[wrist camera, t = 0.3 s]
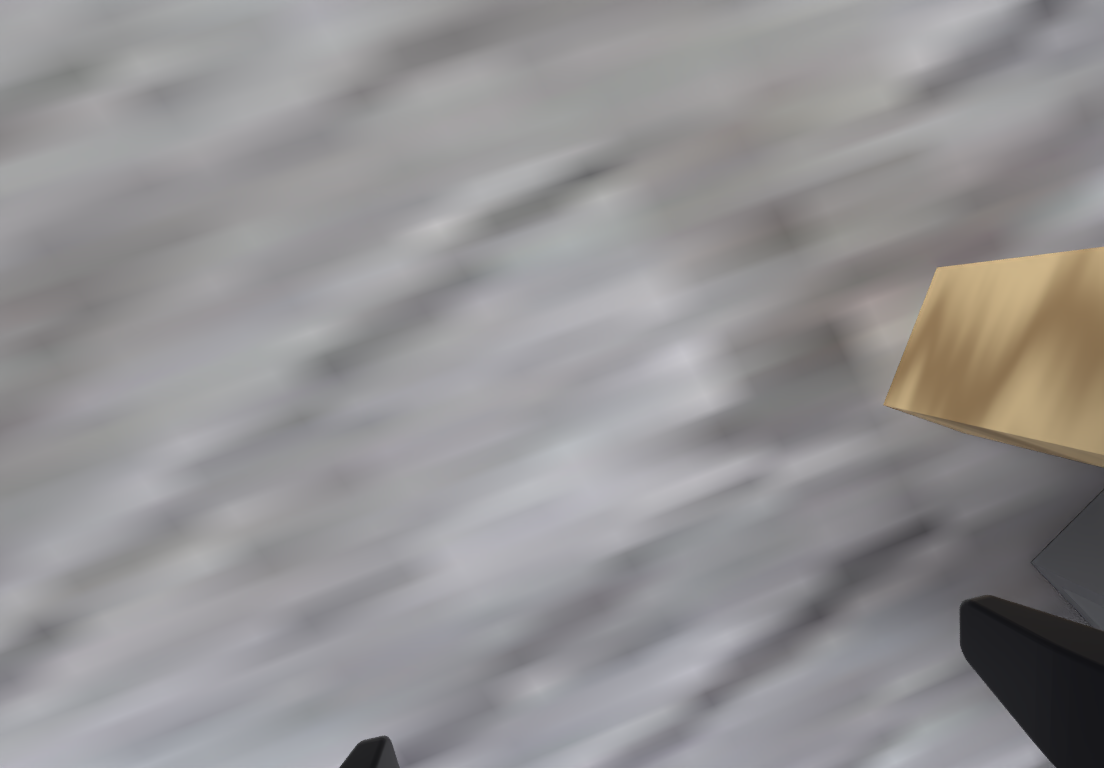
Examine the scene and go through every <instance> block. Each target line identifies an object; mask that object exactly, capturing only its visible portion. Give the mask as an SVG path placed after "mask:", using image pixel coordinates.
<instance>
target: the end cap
mask: <svg viewBox="0 0 1104 768" xmlns="http://www.w3.org/2000/svg"><path fill="white" fill-rule="evenodd" d="M1031 563H1032V564H1033V565H1034V566H1035V568H1036V569H1037V570H1038V571H1039V572H1040V573H1041V574H1042V575H1043V576H1044V577H1045V578H1046V579H1047V580H1048V581H1049V582H1050V583H1051V584H1052V585H1053V586H1054V587H1055V588H1056V589H1057V590H1058V592H1059V593H1060V594H1061V595H1062V596H1063V597H1064V598H1065V599H1066V600H1067V601H1068V602H1069V603H1070V604H1071V605H1072V606H1073V607H1074V608H1075V609H1076V610H1077V611H1078V612H1079V613H1080V615H1081V616H1082V617H1083V618H1084V619H1085V620H1086V621H1087V622H1088V623H1089V624H1090V625H1091V626H1092V627H1093V628H1095V629H1098V630H1102V631H1104V490H1103V491H1102V492H1101V493H1100V494H1099V495H1098V496H1097V497H1096V498H1095V499H1094V500H1093V501H1092V502H1091V503H1090V504H1089V505H1088V506H1087V507H1086V508H1085V509H1084V510H1083V511H1082V512H1081V513H1080V514H1079V515H1078V516H1077V517H1076V518H1075V519H1074V520H1073V521H1072V522H1071V523H1070V524H1069V525H1068V526H1067V527H1066V528H1065V529H1064V530H1063V531H1062V532H1061V533H1060V534H1059V535H1058V536H1057V537H1056V538H1055V539H1054V540H1053V541H1052V542H1051V543H1050V544H1049V545H1048V546H1047V547H1046V548H1045V549H1044V550H1043V551H1042V552H1041V553H1040V554H1039V555H1038V556H1037V557H1036V558H1035V559H1034V560H1033V561H1032V562H1031Z"/></svg>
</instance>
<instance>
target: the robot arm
mask: <svg viewBox="0 0 1104 768" xmlns="http://www.w3.org/2000/svg"><path fill="white" fill-rule="evenodd" d="M960 646H961V649H962V652H963V654H964V656H965V658H966V660H967V661H968V663H969V664H970V665H971V666H972V668H973V669H974V670H975V671H976V673H977V674H978V675H979V676H980V677H981V679H982V680H983V681H984V682H985V683H986V685H987V686H988V687H989V688H990V690H991V691H992V692H993V693H994V694H995V696H996V697H997V698H998V699H999V701H1000V702H1001V703H1002V704H1003V705H1004V707H1005V708H1006V709H1007V710H1008V712H1009V713H1010V714H1011V715H1012V716H1013V718H1014V719H1015V720H1016V721H1017V722H1018V724H1019V725H1020V726H1021V727H1022V729H1023V730H1024V731H1025V732H1026V733H1027V735H1028V736H1029V737H1030V738H1031V740H1032V741H1033V742H1034V743H1035V744H1036V745H1037V747H1038V748H1039V749H1040V750H1041V751H1042V752H1043V754H1044V755H1045V756H1046V757H1047V758H1048V759H1049V761H1050V762H1051V763H1052V764H1053V765H1054V766H1055V767H1056V768H1104V631H1102V630H1098V629H1095V628H1092V627H1089V626H1086V625H1083V624H1080V623H1076V622H1073V621H1070V620H1067V619H1064V618H1061V617H1058V616H1054V615H1051V614H1048V613H1045V612H1042V611H1039V610H1036V609H1032V608H1029V607H1026V606H1023V605H1020V604H1017V603H1014V602H1010V601H1007V600H1004V599H1001V598H998V597H995V596H990V595H984V596H980V597H975V598H971V599H967V600H964V601H963V602H962V603H961V605H960ZM339 768H400V767H399V764H398V761H397V758H396V755H395V751H394V748H393V745H392V742H391V740H390V739H389V737H387V736H379V737H375V738H371V739H366V740H363V741H361V742H360V743H358V744H357V745H356V747H355V748H354V749H353V750H352V752H351V753H350V754H349V756H348V757H347V758H346V760H345V761H344V762H343V763H342V765H341V766H340V767H339Z"/></svg>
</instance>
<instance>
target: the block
mask: <svg viewBox="0 0 1104 768" xmlns="http://www.w3.org/2000/svg"><path fill="white" fill-rule="evenodd" d="M884 405H885V406H888V407H891V408H893V409H896V410H899V411H902V412H905V413H908V414H911V415H914V416H917V417H919V418H922V419H925V420H928V421H931V422H934V423H937V424H940V425H943V426H946V427H948V428H951V429H954V430H957V431H960V432H963V433H966V434H970V435H974V436H978V437H982V438H986V439H990V440H994V441H998V442H1002V443H1006V444H1010V445H1014V446H1018V447H1022V448H1026V449H1030V450H1035V451H1039V452H1043V453H1047V454H1051V455H1055V456H1059V457H1063V458H1067V459H1071V460H1075V461H1079V462H1083V463H1087V464H1091V465H1095V466H1099V467H1103V468H1104V247H1099V248H1091V249H1083V250H1075V251H1067V252H1059V253H1051V254H1043V255H1035V256H1027V257H1019V258H1011V259H1003V260H995V261H987V262H979V263H971V264H963V265H955V266H947V267H939V268H937V269H936V272H935V274H934V277H933V279H932V282H931V285H930V287H929V290H928V292H927V295H926V297H925V300H924V302H923V305H922V308H921V310H920V313H919V315H918V318H917V320H916V323H915V325H914V328H913V331H912V333H911V336H910V338H909V341H908V343H907V346H906V348H905V351H904V354H903V356H902V359H901V361H900V364H899V366H898V369H897V371H896V374H895V376H894V379H893V382H892V384H891V387H890V389H889V392H888V394H887V397H886V399H885V402H884Z"/></svg>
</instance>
